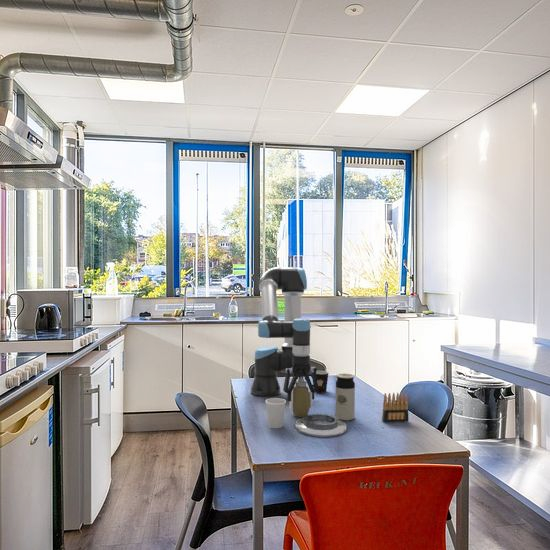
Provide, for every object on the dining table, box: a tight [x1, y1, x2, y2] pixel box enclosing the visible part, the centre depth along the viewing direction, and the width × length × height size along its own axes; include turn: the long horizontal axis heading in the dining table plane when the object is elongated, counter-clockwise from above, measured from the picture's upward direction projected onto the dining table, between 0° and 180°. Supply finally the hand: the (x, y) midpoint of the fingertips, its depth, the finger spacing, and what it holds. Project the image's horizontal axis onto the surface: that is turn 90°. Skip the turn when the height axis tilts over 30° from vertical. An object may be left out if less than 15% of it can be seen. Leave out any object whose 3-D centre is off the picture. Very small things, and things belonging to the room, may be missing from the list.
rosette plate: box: [294, 413, 347, 438], centre depth 172 cm, size 20×20×4 cm
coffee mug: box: [304, 370, 329, 394], centre depth 229 cm, size 12×9×10 cm
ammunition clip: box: [381, 392, 410, 423], centre depth 181 cm, size 11×2×12 cm, turn 97°
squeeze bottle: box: [291, 377, 311, 418], centre depth 188 cm, size 8×8×18 cm
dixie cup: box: [265, 397, 287, 429], centre depth 174 cm, size 8×8×10 cm
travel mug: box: [335, 372, 356, 421], centre depth 185 cm, size 8×8×18 cm
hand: (300, 407), depth 188 cm, fingers closed on squeeze bottle, 8 cm apart
